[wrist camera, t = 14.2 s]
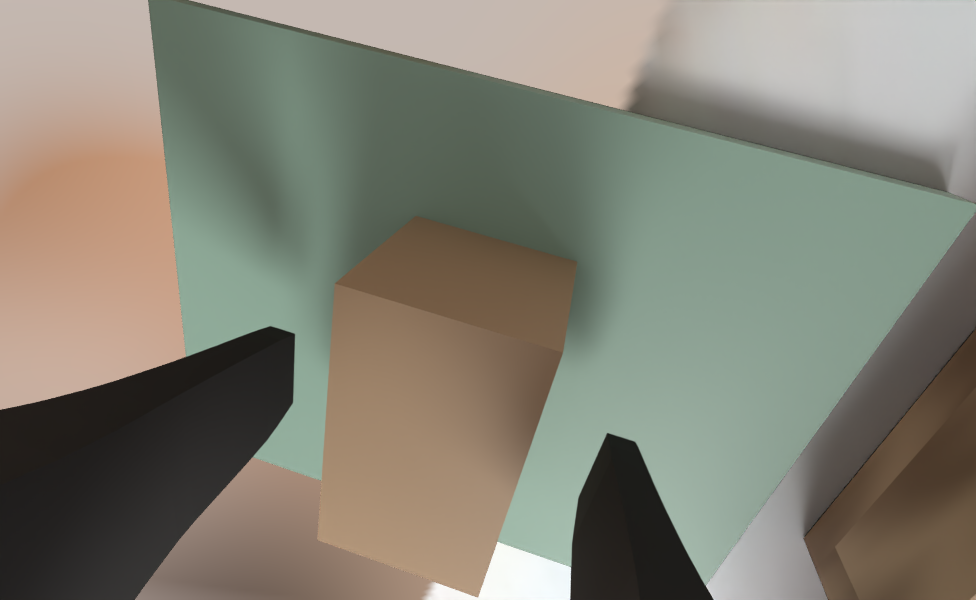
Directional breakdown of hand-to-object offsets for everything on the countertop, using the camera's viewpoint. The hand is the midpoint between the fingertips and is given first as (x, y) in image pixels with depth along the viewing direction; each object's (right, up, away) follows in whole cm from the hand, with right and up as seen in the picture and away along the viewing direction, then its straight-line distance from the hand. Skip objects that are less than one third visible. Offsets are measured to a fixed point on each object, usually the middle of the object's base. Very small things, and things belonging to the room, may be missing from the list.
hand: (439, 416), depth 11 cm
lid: (+1, +2, +3) cm, 4 cm away
